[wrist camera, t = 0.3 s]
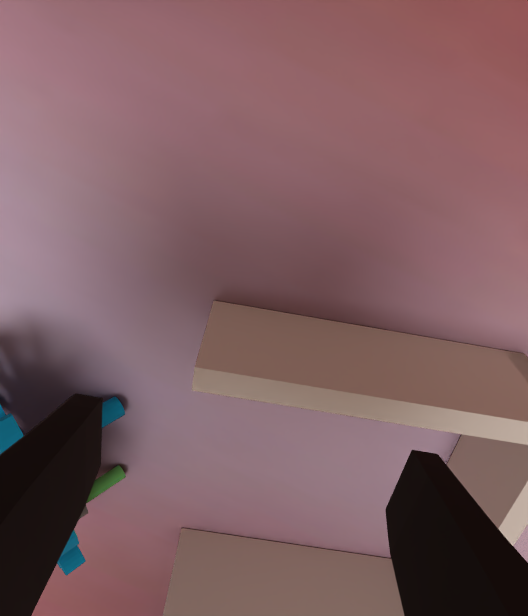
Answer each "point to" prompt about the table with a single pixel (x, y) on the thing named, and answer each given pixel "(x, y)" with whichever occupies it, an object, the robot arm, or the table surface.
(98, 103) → the table surface
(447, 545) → the robot arm
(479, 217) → the table surface
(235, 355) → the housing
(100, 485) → the blue virus model
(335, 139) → the table surface
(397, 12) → the table surface
